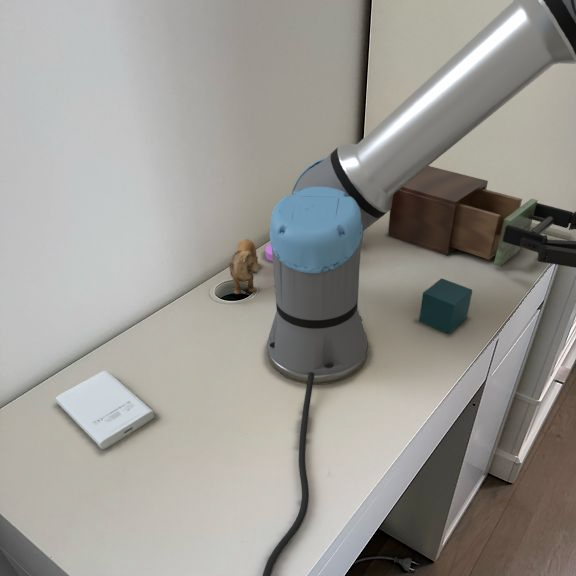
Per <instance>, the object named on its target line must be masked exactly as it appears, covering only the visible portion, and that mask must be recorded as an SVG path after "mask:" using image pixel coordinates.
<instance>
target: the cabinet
mask: <svg viewBox="0 0 576 576" xmlns="http://www.w3.org/2000/svg"><path fill="white" fill-rule="evenodd" d="M488 183H489V180H487V179H483V178H479V177H476V176H475V177H474V176H471V175H467V174H463V173H459V172H455V171H450V170H448V169H447V170H446V169H444V168H439V167H435V166H431V165H429V166H427V167H426V168H425V169H424V170H422V171H421V172H420V173H419V174H418V175H416V176H415V177H414V178H413V179H411V180H410V181H409V182H408V183H406V184H405V185H404V186H403V187H401V188H400V189H399V190H398V191H396V192H395V193H394V195H393V199H392V206H391V209H390V211H389V219H388V229H387V230H388V231H387V235H388V236H389V237H393V238H395V239H398V240H401V241H404V242H407V243H410V244H413V245H416V246H418V247H421V248H424V249H427V250H430V251H432V252H436V253H438V254H441V255H445V256H449V255H450V254H451V253H453V252H454V251H455V250H457V249H456V248H453V247H451V241H452V235H453V229H454V223H455V217H456V211H457V206H458V204H459V203H461V202H462V201H464V200H465V199H467V198H468V197H470V196H471V195H473V194H474V193H476V192H477V191H479V190H480V189H486V190H487V187H488Z"/></svg>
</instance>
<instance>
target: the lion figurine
mask: <svg viewBox="0 0 576 576" xmlns="http://www.w3.org/2000/svg"><path fill="white" fill-rule="evenodd" d="M258 259H259V257H258V256H257V249H256V245H255V243H254V242H253V241H252V240H250V239H248V238H245V239H243V240H241V241H239V242H238V244H237V250H236V252H234V253H233V254H232V256H231V259H230V261H229V264H228V265H229V273H230V276H231V277H232V281H233V285H234V288H235V289H234V291H233V293H234V294H235V295H240V294H241V293H242V288H241V285H240V283H247V290H248V292H250V293H253V292H255V291H256V290H257V289H256V287H255V286H254V275H256V276H257V275H258V273H259V270H260V268H261V267H262V265H261V264H260V263H259V261H258Z"/></svg>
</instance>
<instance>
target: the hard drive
mask: <svg viewBox="0 0 576 576" xmlns="http://www.w3.org/2000/svg"><path fill="white" fill-rule="evenodd" d="M55 401H56V403H57V405H59V406H60V407H61V409H63V410H64V412H65V413H66V414H67V415H68V416H69V417H70V418H71V419H72V420H73V421H74V422H75V424H77V425H78V426H79V427H80V428H81V429H82V431H84V432H85V433H86V435H87V436H88V437H90V439H92V440H93V442H94V443H95V444H96V445H97V446H98V447H99V448H100V449H101V450H105V449H107V448H109V447H111V446H112V445H114V444H115V443H117V442H119V441H120V440H122V439H123V438H125V437H127V436H128V435H130V434H132V433H133V432H135V431H136V430H138V429H139V428H141V427H143V426H144V425H146V424H148V423H149V422H151V421H152V420H153V419H154V418H155V417H156V416H155V413H154V410H153V409H151V408H150V407H149V406H148V405H147V404H146V403H144V401H142V400H141V399H140V398H139V397H137V395H136V394H134V392H132V391H131V390H130V389H129V388H127V387H126V386H125V384H123V383H122V382H121V381H119V380H118V379H117V378H116V377H115V376H114V375H112V374H111V373H110V372H109V371H108V370H102V371H100V372H98V373H96V374H94V375H92V376H90V377H89V378H87V379H85V380H83V381H82V382H80V383H79V384H76V385H74V386H73V387H71V388H69V389H67V390H65V391H63V392H62V393H59V394H58V395H57V396H56V397H55Z"/></svg>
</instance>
